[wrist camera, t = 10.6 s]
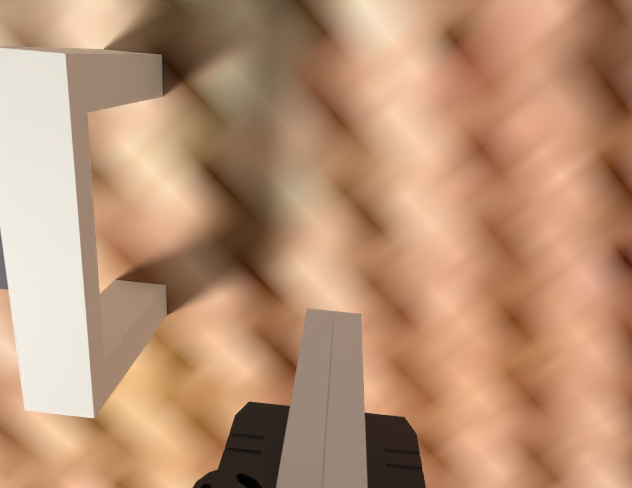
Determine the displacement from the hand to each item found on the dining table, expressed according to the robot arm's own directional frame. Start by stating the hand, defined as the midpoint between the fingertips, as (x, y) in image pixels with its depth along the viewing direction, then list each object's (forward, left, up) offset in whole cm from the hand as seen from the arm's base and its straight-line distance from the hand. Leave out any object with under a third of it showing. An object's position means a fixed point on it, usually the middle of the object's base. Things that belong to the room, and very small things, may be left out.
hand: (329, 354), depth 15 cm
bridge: (+11, 0, -14) cm, 18 cm away
